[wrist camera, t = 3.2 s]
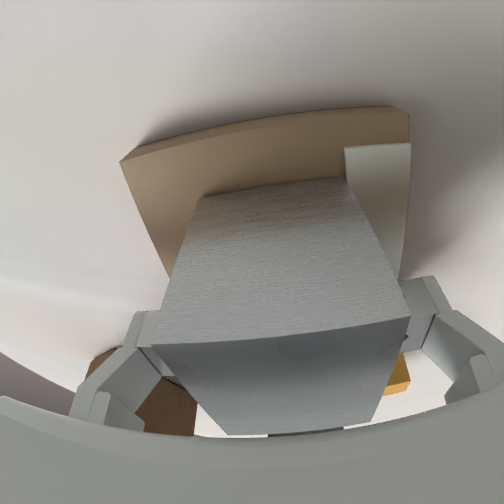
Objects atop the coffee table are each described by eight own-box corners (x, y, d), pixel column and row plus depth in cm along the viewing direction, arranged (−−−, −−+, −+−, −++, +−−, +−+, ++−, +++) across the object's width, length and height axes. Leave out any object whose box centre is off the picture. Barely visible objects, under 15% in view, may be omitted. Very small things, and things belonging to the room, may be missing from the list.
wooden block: (200, 395, 24) (181, 583, 10) (169, 403, 25) (147, 569, 11) (113, 346, 19) (63, 570, 5) (90, 359, 21) (44, 548, 7)
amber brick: (353, 315, 13) (369, 389, 10) (388, 309, 13) (410, 380, 10) (352, 327, 14) (366, 399, 11) (385, 322, 14) (405, 390, 11)
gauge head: (199, 197, 10) (150, 343, 5) (409, 169, 9) (506, 291, 4) (247, 340, 15) (242, 449, 11) (388, 321, 14) (416, 425, 9)
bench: (134, 148, 11) (18, 278, 5) (392, 105, 9) (536, 206, 3) (242, 391, 23) (238, 476, 17) (365, 377, 21) (379, 462, 15)
